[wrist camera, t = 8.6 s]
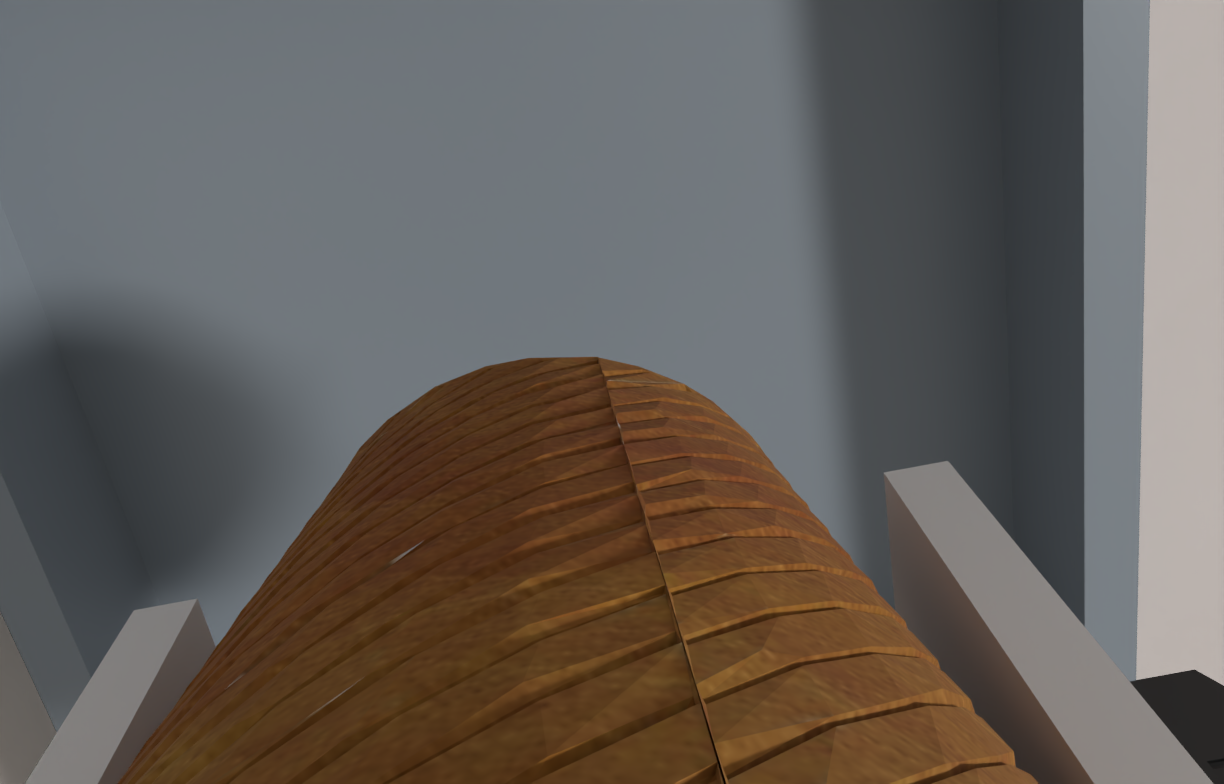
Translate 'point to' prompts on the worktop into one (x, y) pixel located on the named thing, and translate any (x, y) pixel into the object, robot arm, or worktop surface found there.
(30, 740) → the worktop surface
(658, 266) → the bin
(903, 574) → the robot arm
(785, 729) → the disposable coffee cup
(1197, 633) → the worktop surface
